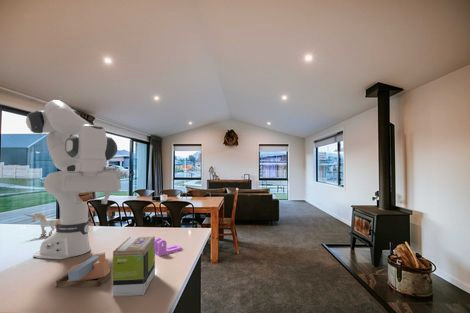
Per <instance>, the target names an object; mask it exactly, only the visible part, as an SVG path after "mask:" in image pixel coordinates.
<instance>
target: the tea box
mask: <svg viewBox="0 0 470 313" xmlns="http://www.w3.org/2000/svg"><path fill="white" fill-rule="evenodd" d="M155 239H156V237H155V236H154V235H153V236H136V237H135V236H134V237H131V236H129V237H128V238H126V240H125V241H123V242H122V243H121V244H120V245H119V246H118V247H116V248H115V250H113V252H112V296H113V297H131V296H143V295H145V293H146V291H147V289H148V287H149V285H150V284H151V282H152V281H153V278H154V277H155V274H156V273H155V272H156V262H155V261H156V254H155Z"/></svg>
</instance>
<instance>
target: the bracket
mask: <svg viewBox="0 0 470 313" xmlns="http://www.w3.org/2000/svg"><path fill="white" fill-rule="evenodd" d="M179 250H180V251H181V250H182V245H179V244H174V245H169V246H167V241H166V240H165V239H162V238H160V237H155V256H158V257H161V256H164V255H169V254H172V252H173V253H177V252H180V251H179ZM176 251H177V252H176Z"/></svg>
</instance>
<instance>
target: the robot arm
mask: <svg viewBox="0 0 470 313" xmlns="http://www.w3.org/2000/svg"><path fill="white" fill-rule="evenodd" d="M25 123H26V126H27V128H28V129H29V130H30V132H32V133H34V134H45V133H46V134H47V135H46V146H47V149H48V153H49V157H51V160H52V163H53V165H54V167H55V168H56V169H58V171H53V172H49V173H48V174H47V175H46V176H45V178H44V180H43V188H44V189H45V191H46V192H47V193H48V194H49V195H51V196H53V197H54V198H55V199H56V201H57V203H58V206H59V209H60V210H59V211H60V214H59V215H60V224H58V225H56V227H55V226H54V230H55V229H56V228H57V230H56V231H54V233H53V232H52V234H51V236H49V235H48V237H47V238H45V239H44V240H43V241H42V242H41V243H40V244H41V245H40V247H39V250H38V251H36V252H35V253H34V254H33V256H32V257H33V258H34V257H36V258H35V259H37V258H38V259H49V260H51V259H52V260H65V259H68V258H71V257H72V258H73V257H77V256H81V255H84V254H87V253H88V252H90V251H91V250H92V247H91V246H90V239H89V230H90V222H89V205H88V204H87V203H86V202H85V201H83V199H82V198H80V196H79V195H80V194H82V193H104V198H103V199H101V203H100V204H101V205H107V204H108V199H109V198H110V196H111V195H112V193H116V192H119V191H120V190H121V189H122V181H121V175H122V172H121V169H119V168H118V167H114V166H113V167H111V166H110V167H109V166H107V161H110V160H111V159H113V158H114V157H115V156H116V154H117V152H118V145H117V142H116V141H115V140H114V138H113V137H110V136H107V132H106V129H105V127H103V126H101V125H93V123H91V122H89V121H87V120H86V119H84V118H83V117H81V116H80V114H79V112H78V111H77V110H76V109H72V107H71V106H70V105H68V104H66V103H65V102H63V101H61V100H57V99H56V100H55V99H53V100H50V101H48V102H46V104H45V105H44V107H43V110H34V111H31V112H28V114H27V115H26V119H25ZM59 170H60V171H59Z"/></svg>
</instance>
